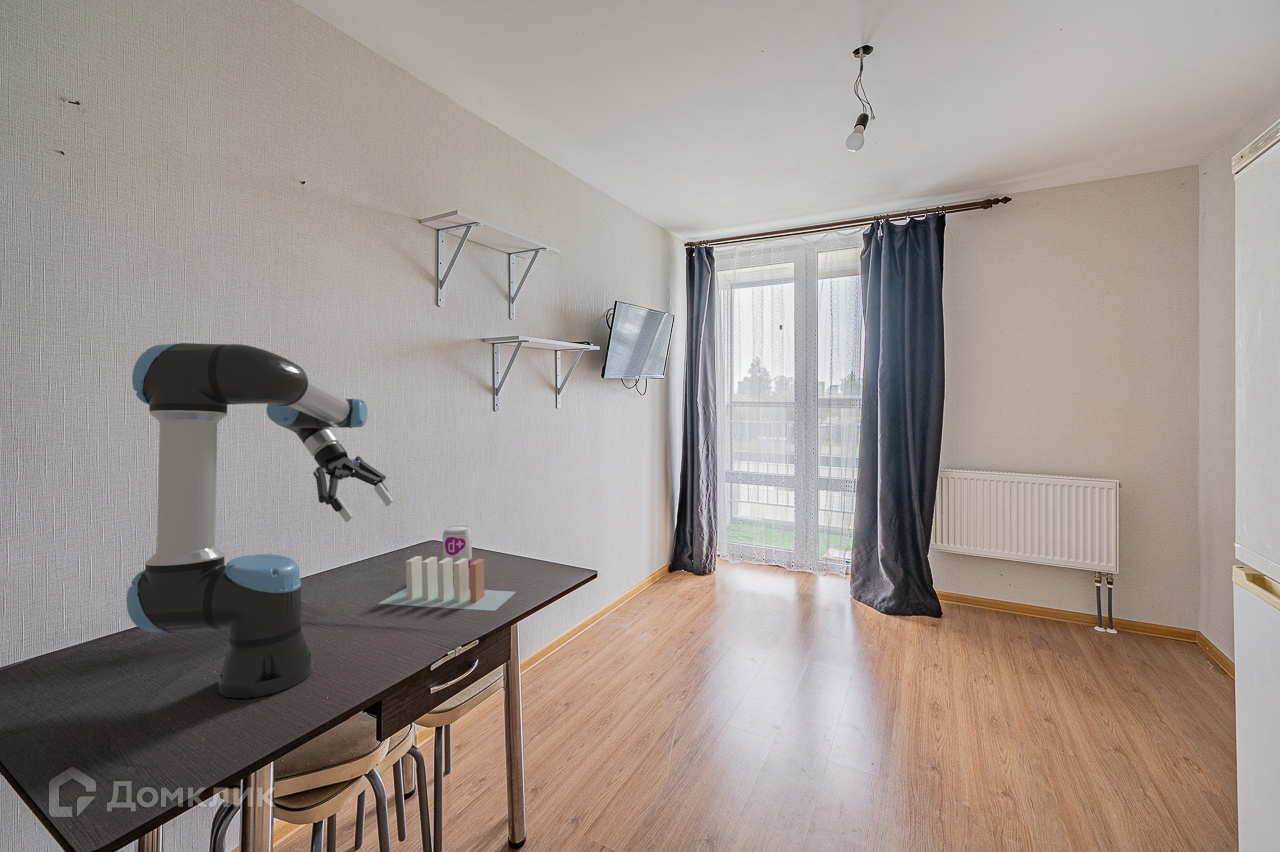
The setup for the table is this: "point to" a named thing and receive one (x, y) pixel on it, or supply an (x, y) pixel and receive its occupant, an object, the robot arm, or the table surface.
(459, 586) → the domino
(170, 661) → the table surface
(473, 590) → the domino
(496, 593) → the domino board
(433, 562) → the domino
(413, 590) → the domino
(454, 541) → the supplement can
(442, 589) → the domino
